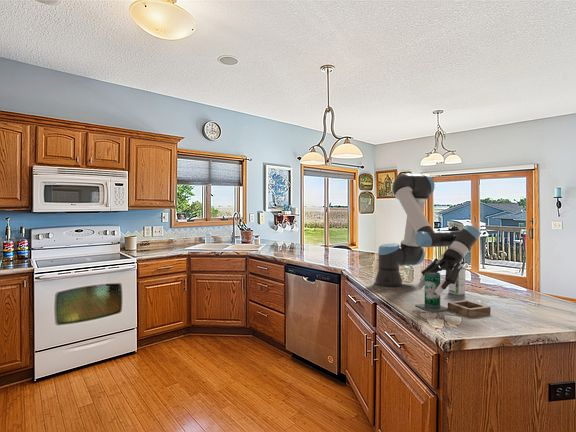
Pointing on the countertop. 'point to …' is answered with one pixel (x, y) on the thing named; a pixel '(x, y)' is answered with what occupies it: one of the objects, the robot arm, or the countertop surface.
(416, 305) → the mat
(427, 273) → the can
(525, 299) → the countertop surface
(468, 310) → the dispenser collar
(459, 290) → the syrup box
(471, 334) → the countertop surface
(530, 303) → the countertop surface
